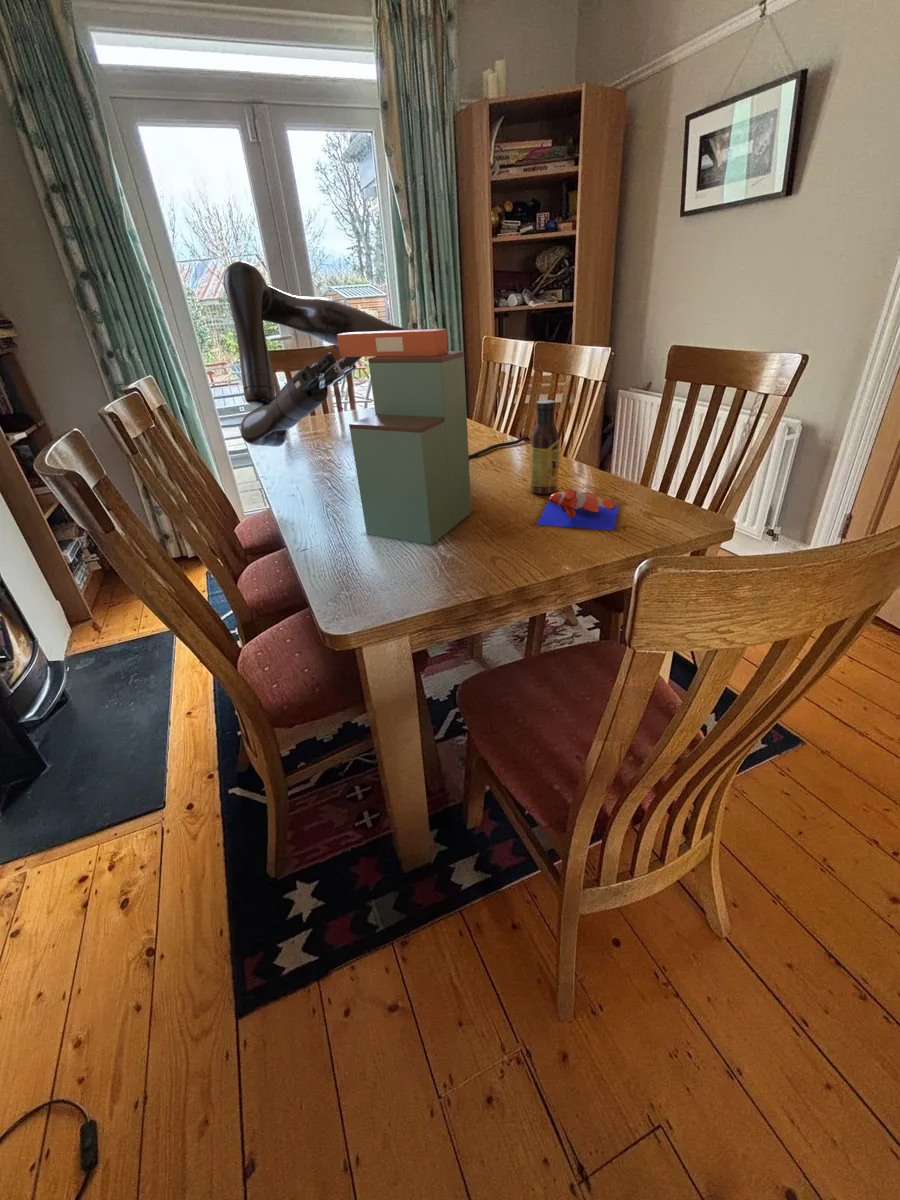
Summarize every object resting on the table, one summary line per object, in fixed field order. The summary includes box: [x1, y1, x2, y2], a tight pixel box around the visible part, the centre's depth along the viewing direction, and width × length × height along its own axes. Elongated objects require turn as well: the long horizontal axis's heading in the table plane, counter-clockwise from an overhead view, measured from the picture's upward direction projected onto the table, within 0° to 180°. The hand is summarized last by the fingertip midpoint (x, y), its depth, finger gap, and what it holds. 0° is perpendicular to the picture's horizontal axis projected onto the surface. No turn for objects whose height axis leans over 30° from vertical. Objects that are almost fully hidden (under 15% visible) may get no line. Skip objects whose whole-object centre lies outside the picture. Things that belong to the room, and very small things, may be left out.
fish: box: [548, 488, 617, 518], centre depth 108 cm, size 13×5×9 cm
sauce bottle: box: [530, 399, 560, 495], centre depth 118 cm, size 7×6×20 cm
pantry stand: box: [348, 350, 472, 546], centre depth 103 cm, size 16×18×32 cm
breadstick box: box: [337, 328, 449, 358], centre depth 100 cm, size 22×4×4 cm, turn 62°
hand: (346, 354), depth 105 cm, fingers open, 8 cm apart
